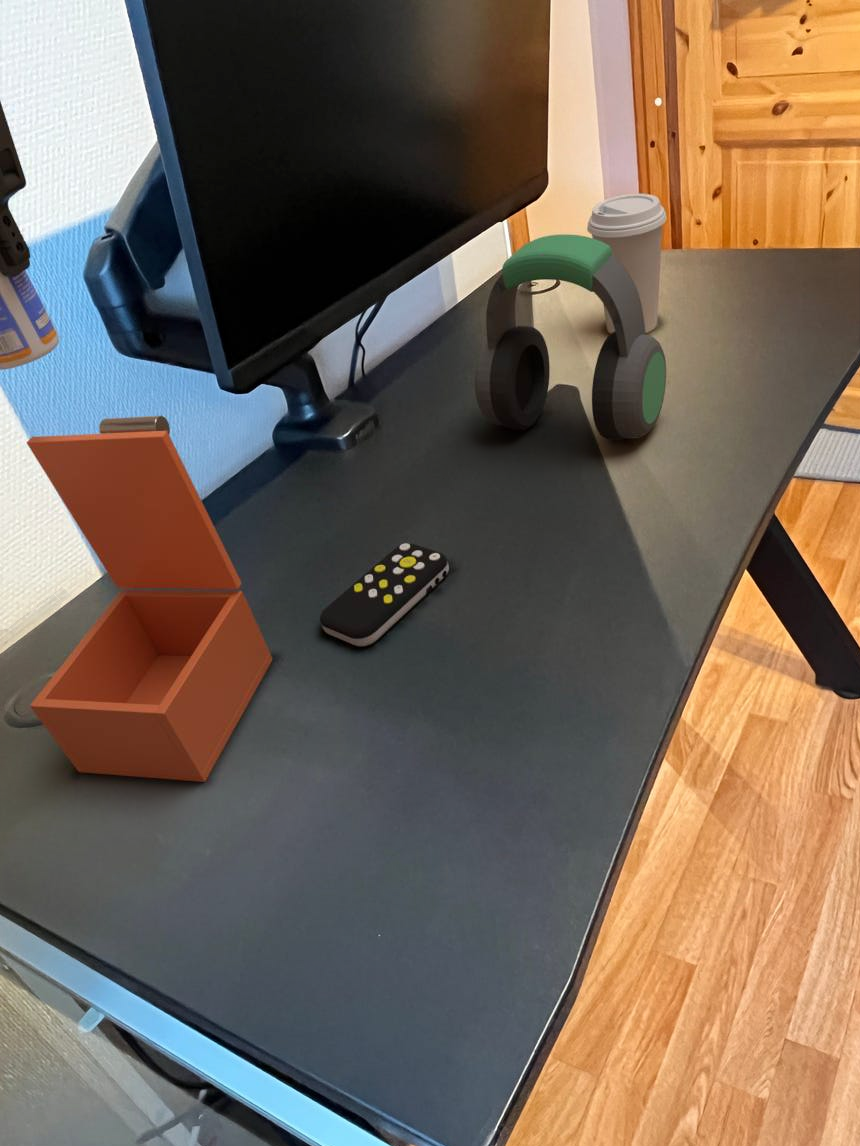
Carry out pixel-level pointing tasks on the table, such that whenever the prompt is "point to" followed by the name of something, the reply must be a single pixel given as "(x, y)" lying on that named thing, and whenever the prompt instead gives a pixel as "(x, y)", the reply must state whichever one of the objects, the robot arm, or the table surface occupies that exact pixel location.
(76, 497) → the box lid
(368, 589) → the remote control
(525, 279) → the headphones
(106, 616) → the orange lidded box
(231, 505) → the table surface
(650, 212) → the coffee cup
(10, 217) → the robot arm
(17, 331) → the pill bottle
